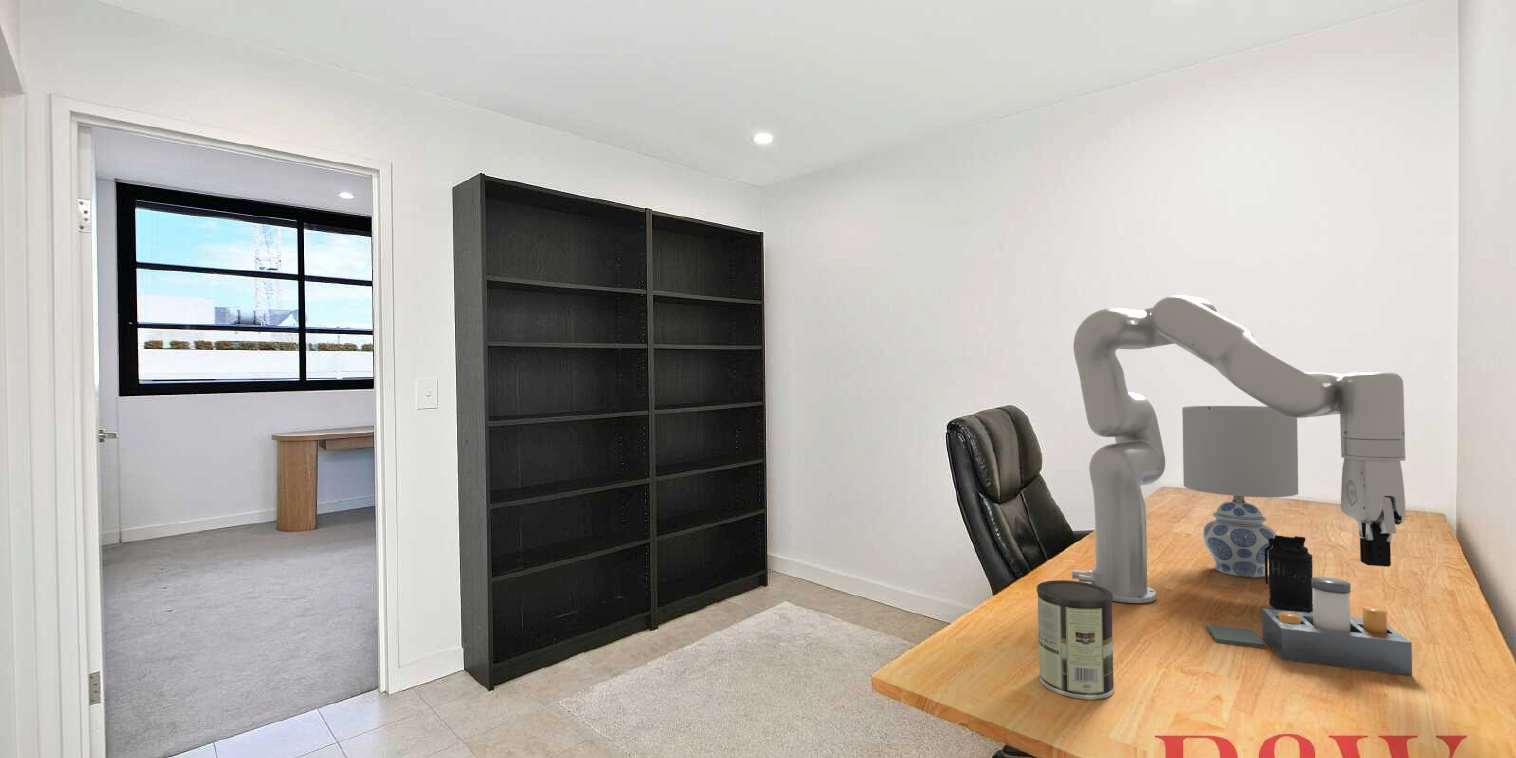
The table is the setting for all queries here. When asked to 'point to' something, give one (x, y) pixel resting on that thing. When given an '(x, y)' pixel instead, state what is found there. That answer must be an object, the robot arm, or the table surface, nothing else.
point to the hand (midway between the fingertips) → (1375, 564)
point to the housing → (1337, 644)
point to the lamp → (1239, 476)
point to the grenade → (1289, 574)
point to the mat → (1235, 636)
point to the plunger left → (1289, 617)
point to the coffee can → (1075, 639)
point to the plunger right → (1374, 620)
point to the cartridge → (1331, 604)
